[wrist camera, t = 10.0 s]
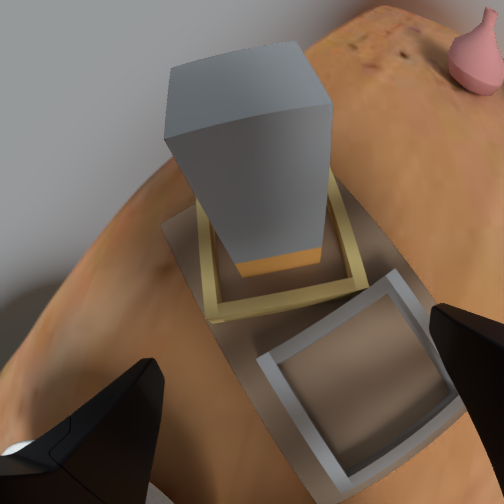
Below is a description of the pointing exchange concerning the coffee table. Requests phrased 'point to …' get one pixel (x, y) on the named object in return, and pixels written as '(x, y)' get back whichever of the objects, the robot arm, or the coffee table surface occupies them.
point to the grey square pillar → (255, 152)
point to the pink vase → (478, 58)
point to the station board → (327, 347)
